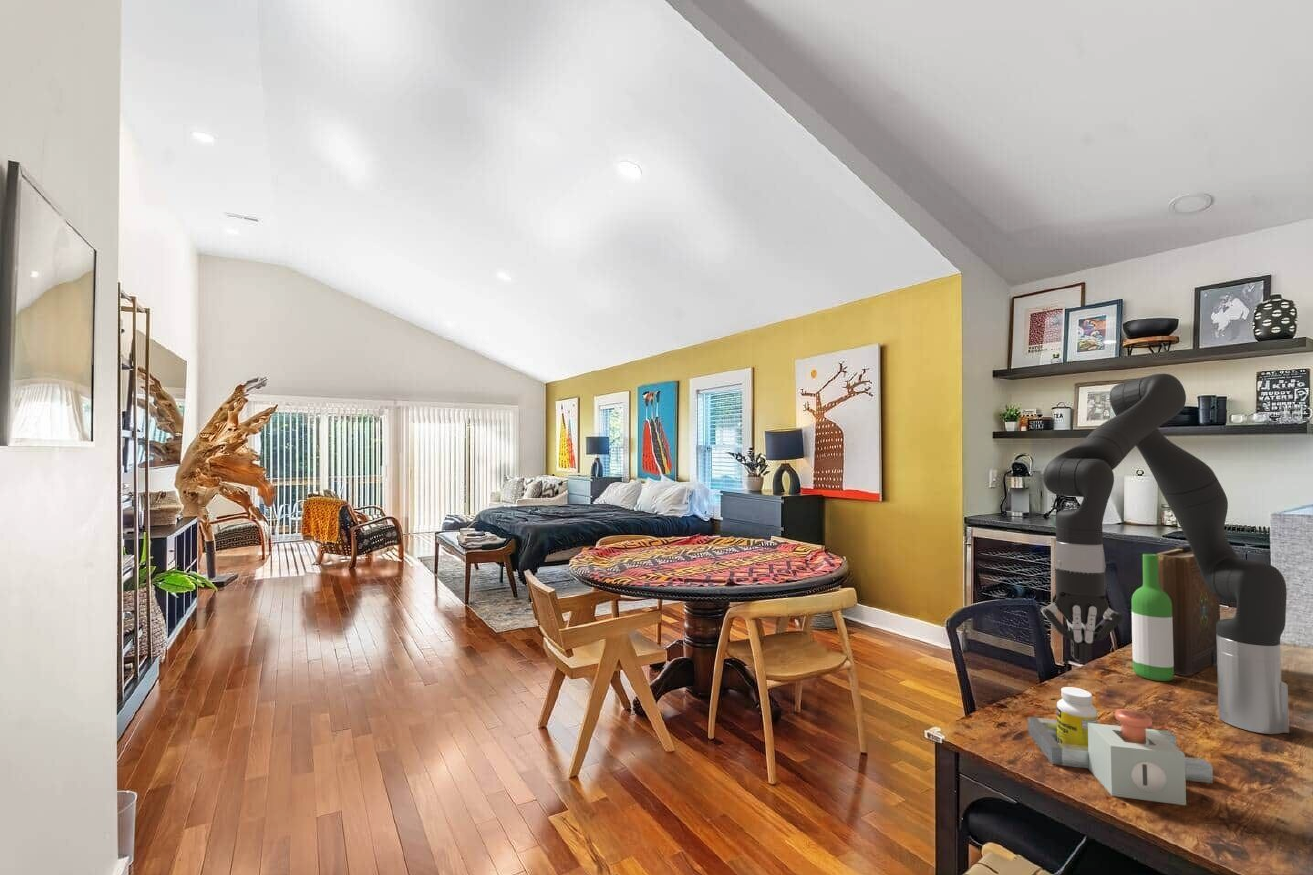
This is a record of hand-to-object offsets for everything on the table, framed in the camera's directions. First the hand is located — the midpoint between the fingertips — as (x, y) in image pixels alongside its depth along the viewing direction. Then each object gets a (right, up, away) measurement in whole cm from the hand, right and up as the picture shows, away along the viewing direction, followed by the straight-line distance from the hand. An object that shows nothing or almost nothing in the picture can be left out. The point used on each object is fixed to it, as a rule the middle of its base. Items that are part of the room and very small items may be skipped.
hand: (1081, 661), depth 108 cm
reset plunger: (+1, -9, -10) cm, 13 cm away
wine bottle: (+45, -18, +37) cm, 61 cm away
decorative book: (+60, -18, +44) cm, 77 cm away
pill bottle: (0, -17, +1) cm, 17 cm away
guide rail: (+6, -17, -1) cm, 18 cm away
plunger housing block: (+2, -17, -10) cm, 20 cm away
